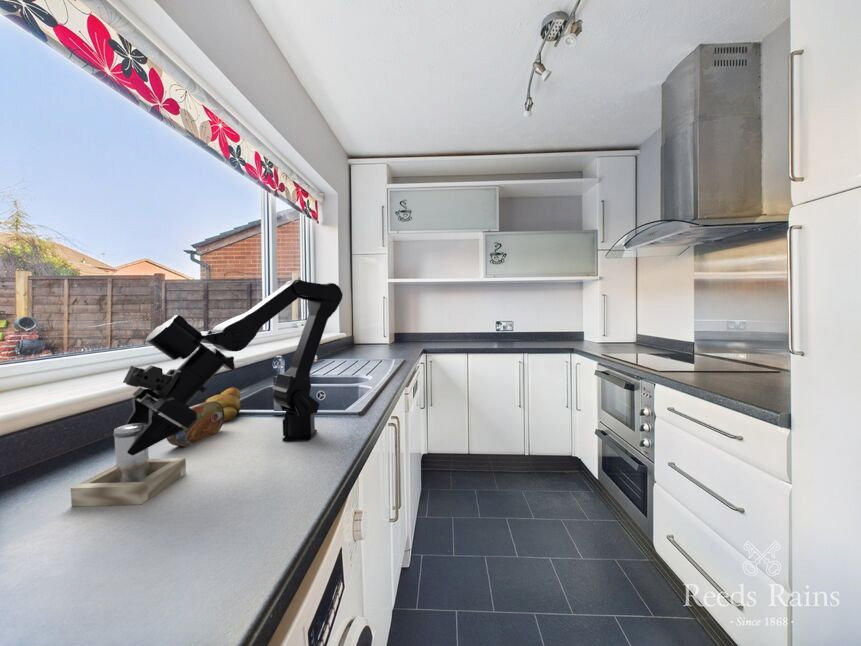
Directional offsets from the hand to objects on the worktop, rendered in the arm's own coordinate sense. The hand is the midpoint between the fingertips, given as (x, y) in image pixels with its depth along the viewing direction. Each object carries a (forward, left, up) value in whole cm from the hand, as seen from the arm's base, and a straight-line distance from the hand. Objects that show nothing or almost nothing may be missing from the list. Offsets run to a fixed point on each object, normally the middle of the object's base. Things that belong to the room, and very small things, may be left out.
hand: (123, 447), depth 62 cm
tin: (+3, -25, -8) cm, 26 cm away
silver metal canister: (-1, -1, -8) cm, 8 cm away
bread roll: (+7, -42, -8) cm, 43 cm away
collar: (-1, -1, -8) cm, 8 cm away
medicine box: (-10, -47, -8) cm, 48 cm away
